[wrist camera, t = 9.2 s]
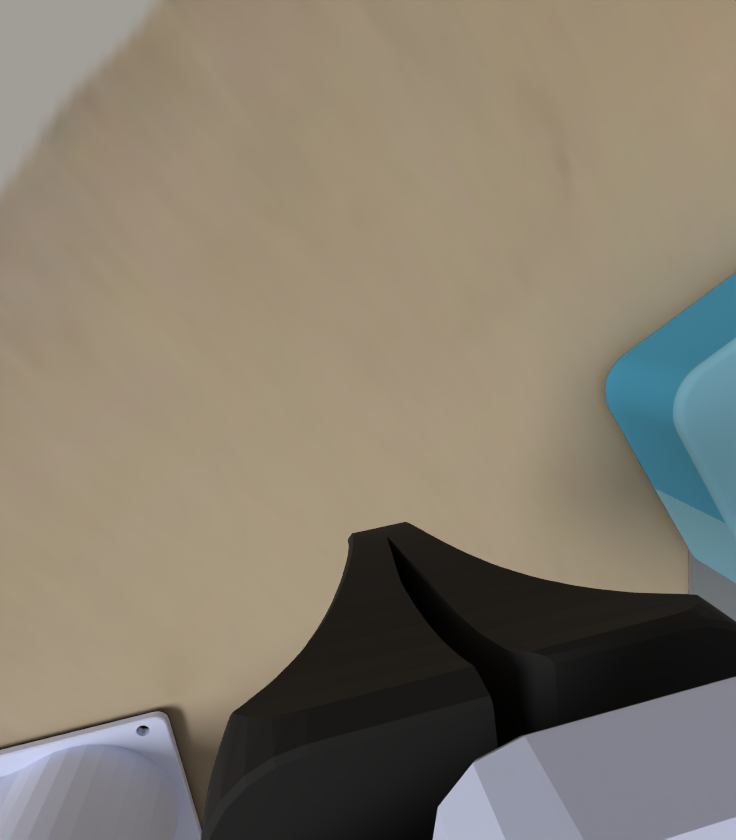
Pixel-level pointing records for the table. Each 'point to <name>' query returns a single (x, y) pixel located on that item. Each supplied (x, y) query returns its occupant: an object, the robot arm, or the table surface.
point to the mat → (712, 587)
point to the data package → (687, 421)
